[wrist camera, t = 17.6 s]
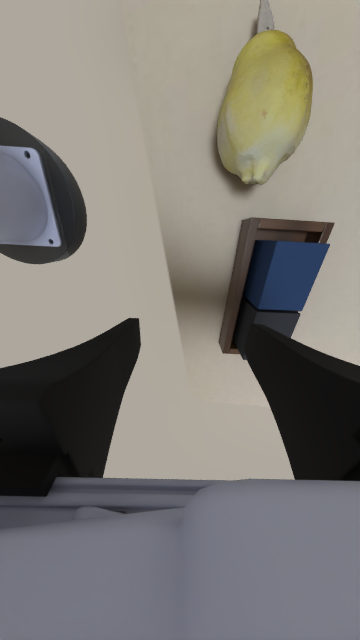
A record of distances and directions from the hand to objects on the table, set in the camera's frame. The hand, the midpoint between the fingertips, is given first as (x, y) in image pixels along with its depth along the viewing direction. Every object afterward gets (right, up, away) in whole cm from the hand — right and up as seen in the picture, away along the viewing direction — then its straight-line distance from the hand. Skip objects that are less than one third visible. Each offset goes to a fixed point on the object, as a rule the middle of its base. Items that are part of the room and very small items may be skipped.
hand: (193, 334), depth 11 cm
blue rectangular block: (+9, +7, +8) cm, 14 cm away
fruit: (+5, +17, +3) cm, 18 cm away
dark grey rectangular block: (+9, +1, +11) cm, 14 cm away
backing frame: (+9, +4, +9) cm, 14 cm away
